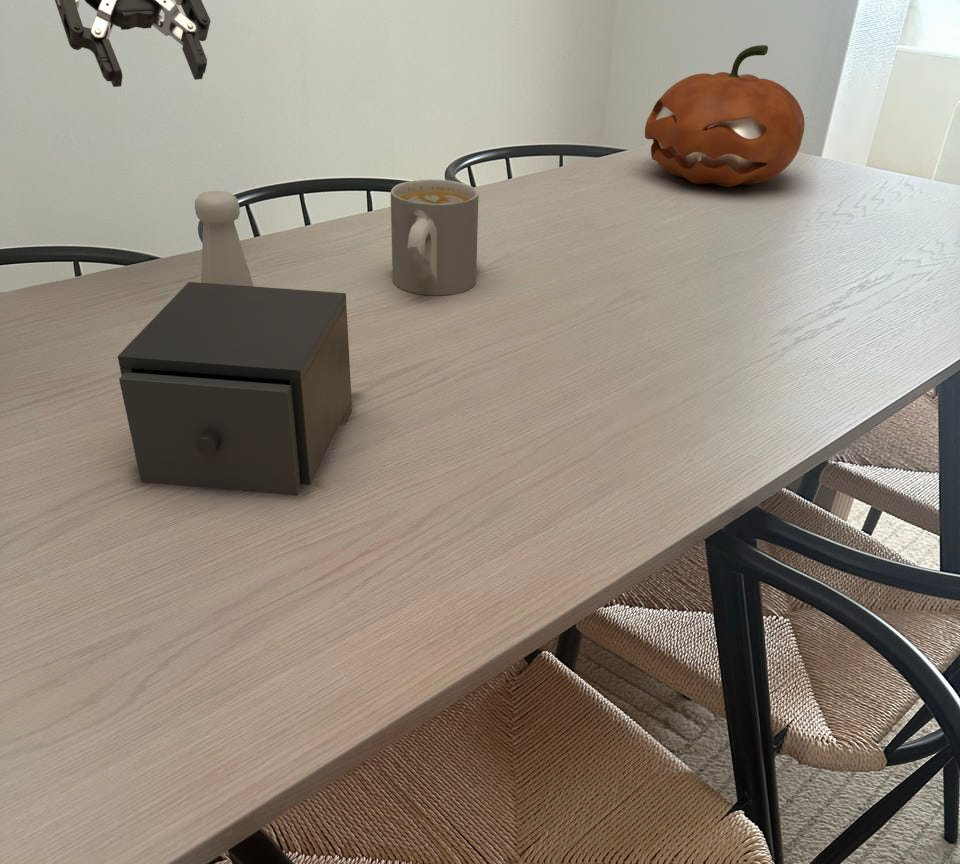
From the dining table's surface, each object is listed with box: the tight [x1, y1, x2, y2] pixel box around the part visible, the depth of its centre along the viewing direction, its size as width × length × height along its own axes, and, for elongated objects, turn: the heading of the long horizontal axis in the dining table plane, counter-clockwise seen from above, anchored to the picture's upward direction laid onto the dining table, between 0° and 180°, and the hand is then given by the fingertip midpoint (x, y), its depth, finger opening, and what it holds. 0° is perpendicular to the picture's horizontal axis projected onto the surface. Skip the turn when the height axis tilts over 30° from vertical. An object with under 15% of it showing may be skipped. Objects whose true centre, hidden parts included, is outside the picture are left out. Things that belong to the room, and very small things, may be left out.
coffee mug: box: [390, 179, 480, 297], centre depth 113 cm, size 13×10×10 cm
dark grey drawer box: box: [117, 281, 353, 486], centre depth 82 cm, size 16×14×11 cm
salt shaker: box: [194, 190, 255, 287], centre depth 102 cm, size 6×6×13 cm
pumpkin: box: [644, 44, 806, 188], centre depth 151 cm, size 25×25×19 cm
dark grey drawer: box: [118, 369, 302, 496], centre depth 80 cm, size 16×13×9 cm
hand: (159, 78), depth 100 cm, fingers open, 8 cm apart
